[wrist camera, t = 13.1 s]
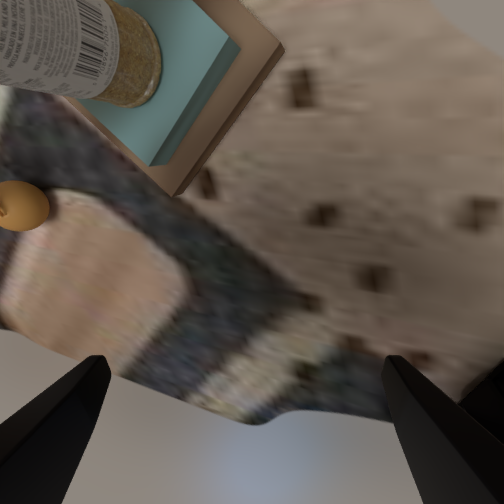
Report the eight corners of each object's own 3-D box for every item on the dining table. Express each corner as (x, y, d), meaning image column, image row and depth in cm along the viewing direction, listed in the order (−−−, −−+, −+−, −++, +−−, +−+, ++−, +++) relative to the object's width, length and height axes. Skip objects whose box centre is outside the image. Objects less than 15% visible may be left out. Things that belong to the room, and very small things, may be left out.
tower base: (284, 50, 16) (272, 27, 13) (182, 193, 21) (154, 202, 18) (139, -93, 16) (90, -154, 12) (67, 86, 20) (18, 75, 17)
